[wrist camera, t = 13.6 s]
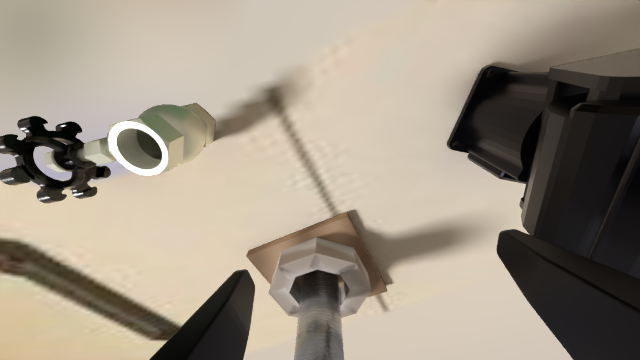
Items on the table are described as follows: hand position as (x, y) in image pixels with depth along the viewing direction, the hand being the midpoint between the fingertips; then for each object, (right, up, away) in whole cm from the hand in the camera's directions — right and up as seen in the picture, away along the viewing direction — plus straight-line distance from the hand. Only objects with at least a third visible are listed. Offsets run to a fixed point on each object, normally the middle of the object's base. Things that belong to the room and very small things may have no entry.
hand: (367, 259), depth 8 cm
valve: (-16, +7, +12) cm, 21 cm away
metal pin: (-2, -8, +18) cm, 19 cm away
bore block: (-2, -8, +18) cm, 20 cm away
